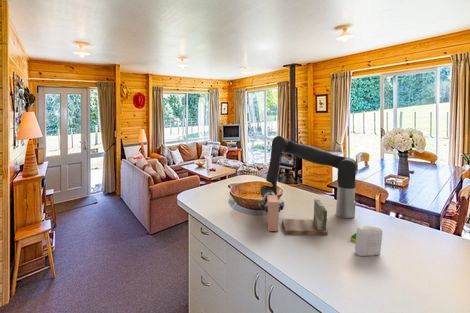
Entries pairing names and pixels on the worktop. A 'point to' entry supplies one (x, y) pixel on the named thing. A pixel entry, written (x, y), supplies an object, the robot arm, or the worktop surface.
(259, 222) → the worktop surface
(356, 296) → the worktop surface
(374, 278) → the worktop surface
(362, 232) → the photo printer
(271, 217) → the terracotta book
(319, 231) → the shelf ledge
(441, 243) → the worktop surface
